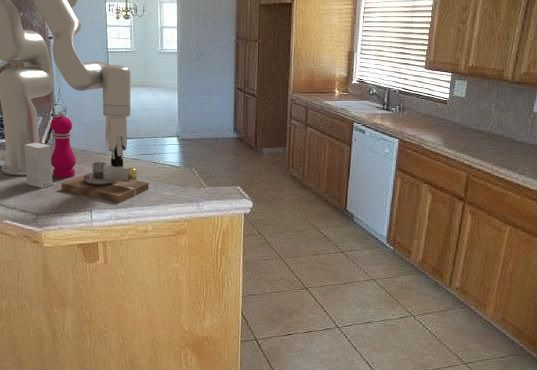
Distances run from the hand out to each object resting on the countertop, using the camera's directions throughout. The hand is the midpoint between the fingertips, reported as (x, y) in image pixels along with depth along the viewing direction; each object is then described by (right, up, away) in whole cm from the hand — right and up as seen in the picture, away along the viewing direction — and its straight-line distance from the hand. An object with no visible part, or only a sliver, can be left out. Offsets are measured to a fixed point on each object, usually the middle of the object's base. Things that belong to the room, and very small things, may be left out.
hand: (117, 171), depth 154 cm
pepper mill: (-19, -1, +9) cm, 21 cm away
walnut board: (-3, -5, -1) cm, 6 cm away
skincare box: (-22, -4, -1) cm, 23 cm away
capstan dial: (-1, -3, -2) cm, 4 cm away
